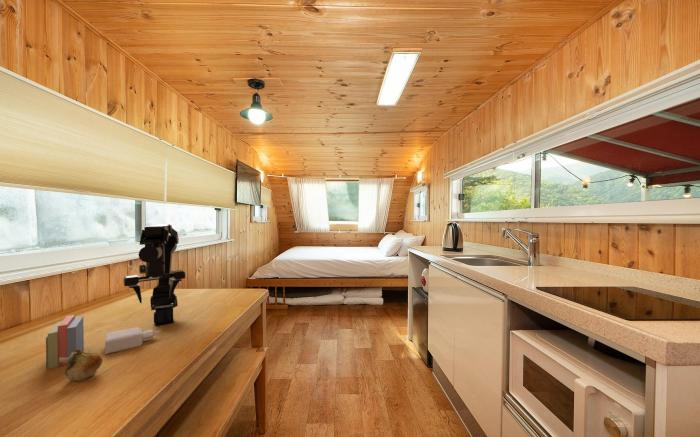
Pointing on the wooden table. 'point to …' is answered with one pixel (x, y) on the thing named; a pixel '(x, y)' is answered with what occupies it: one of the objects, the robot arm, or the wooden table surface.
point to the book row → (64, 340)
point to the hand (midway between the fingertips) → (155, 300)
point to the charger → (126, 339)
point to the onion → (81, 365)
